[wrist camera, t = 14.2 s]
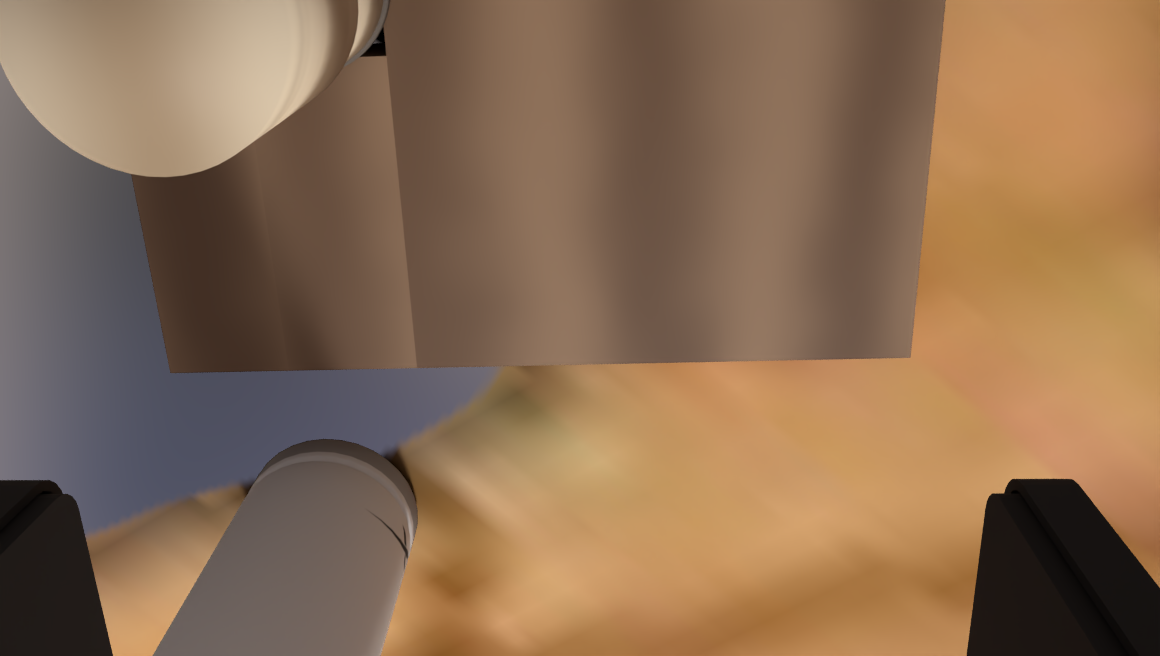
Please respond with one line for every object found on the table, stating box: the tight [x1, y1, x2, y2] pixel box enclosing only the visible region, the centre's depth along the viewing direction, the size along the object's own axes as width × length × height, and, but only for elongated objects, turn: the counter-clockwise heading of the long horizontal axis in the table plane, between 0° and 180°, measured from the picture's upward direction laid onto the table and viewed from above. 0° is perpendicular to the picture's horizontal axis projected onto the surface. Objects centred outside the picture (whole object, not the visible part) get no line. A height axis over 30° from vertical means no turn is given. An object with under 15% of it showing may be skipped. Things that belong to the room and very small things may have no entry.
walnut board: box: [131, 0, 946, 373], centre depth 32 cm, size 24×18×3 cm
